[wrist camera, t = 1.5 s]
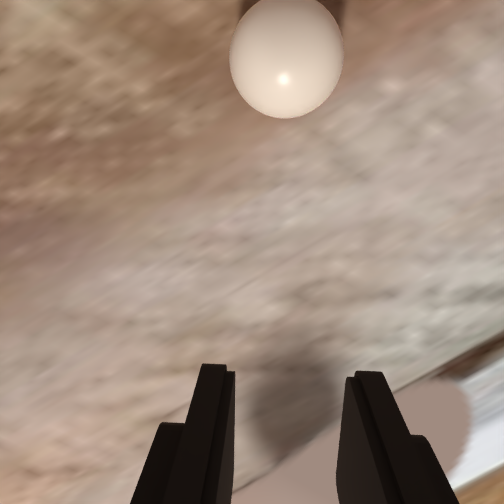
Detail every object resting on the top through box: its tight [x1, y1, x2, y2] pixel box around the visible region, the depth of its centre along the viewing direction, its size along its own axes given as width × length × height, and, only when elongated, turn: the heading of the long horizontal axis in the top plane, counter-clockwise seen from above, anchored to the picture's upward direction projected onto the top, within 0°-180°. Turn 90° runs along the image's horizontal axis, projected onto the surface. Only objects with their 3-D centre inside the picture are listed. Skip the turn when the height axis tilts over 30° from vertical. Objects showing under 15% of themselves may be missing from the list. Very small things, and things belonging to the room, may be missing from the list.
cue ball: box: [229, 0, 344, 118], centre depth 20 cm, size 6×6×6 cm
